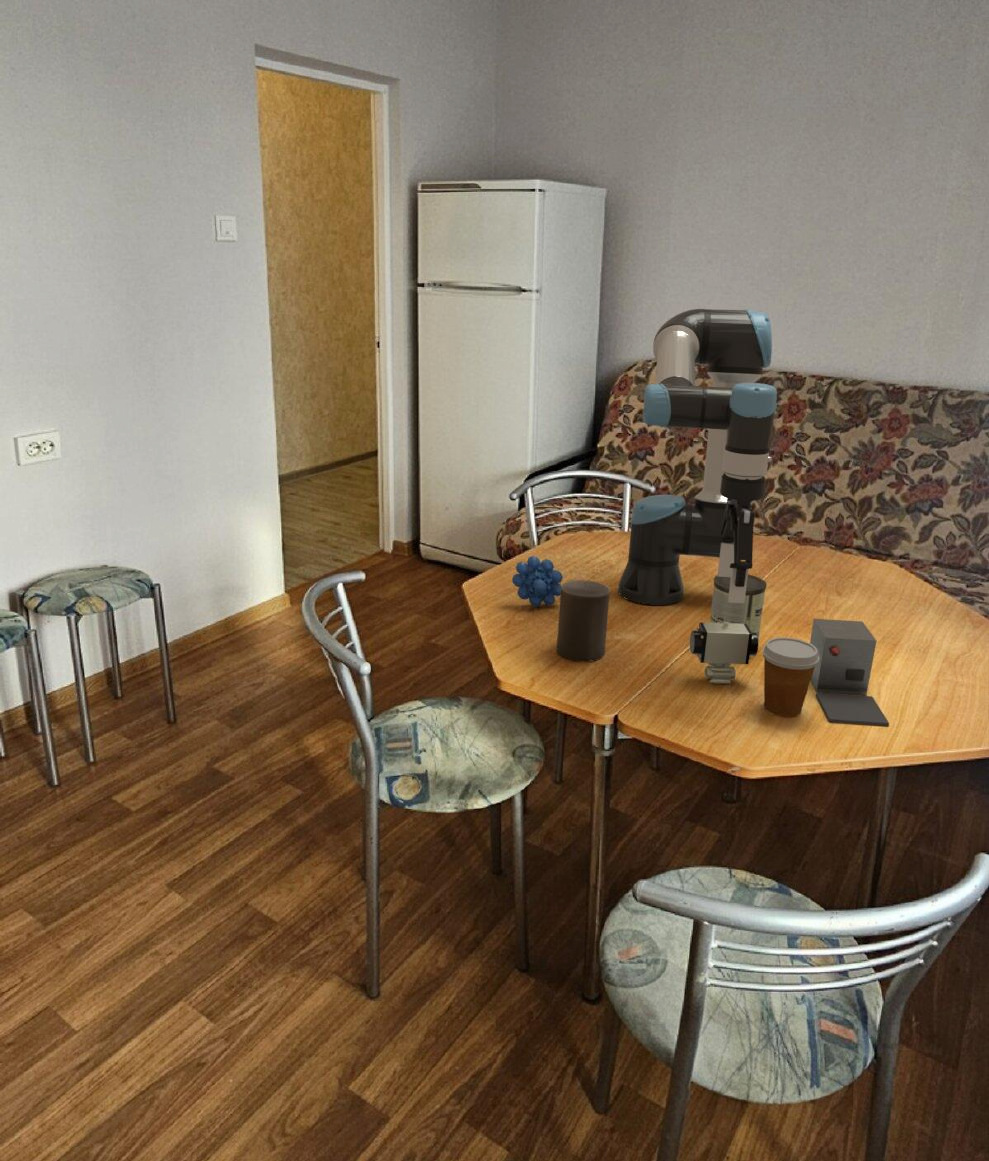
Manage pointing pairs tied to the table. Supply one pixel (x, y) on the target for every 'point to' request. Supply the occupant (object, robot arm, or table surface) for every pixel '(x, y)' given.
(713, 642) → the pneumatic valve
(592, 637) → the pillar candle
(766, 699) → the disposable coffee cup
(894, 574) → the table surface
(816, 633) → the block
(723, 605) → the coffee can
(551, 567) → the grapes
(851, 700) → the pad
